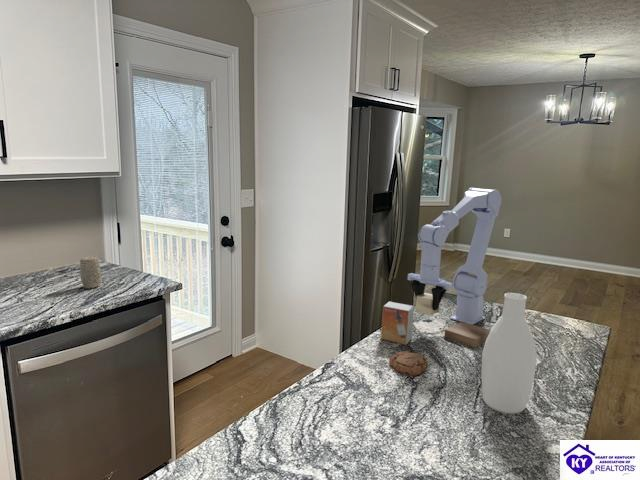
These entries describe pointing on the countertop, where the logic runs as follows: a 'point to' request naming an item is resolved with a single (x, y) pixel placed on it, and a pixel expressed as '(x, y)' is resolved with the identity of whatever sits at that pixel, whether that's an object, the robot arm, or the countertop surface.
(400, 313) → the small box
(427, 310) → the maple cube
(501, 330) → the bottle
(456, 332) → the walnut block
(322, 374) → the countertop surface
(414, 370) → the cookie
